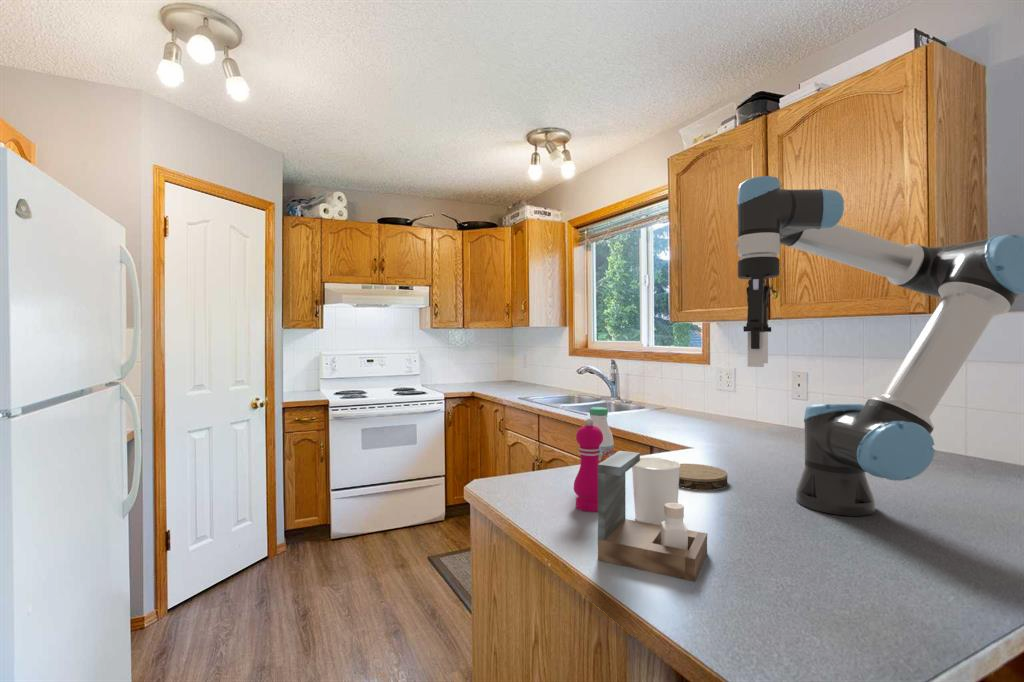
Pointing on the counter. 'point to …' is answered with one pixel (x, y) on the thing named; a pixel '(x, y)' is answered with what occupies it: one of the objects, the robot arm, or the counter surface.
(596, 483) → the pepper mill
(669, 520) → the salt shaker
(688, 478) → the tan flat round disc
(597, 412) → the milk bottle
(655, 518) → the candle holder
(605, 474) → the socket stand
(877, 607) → the counter surface
